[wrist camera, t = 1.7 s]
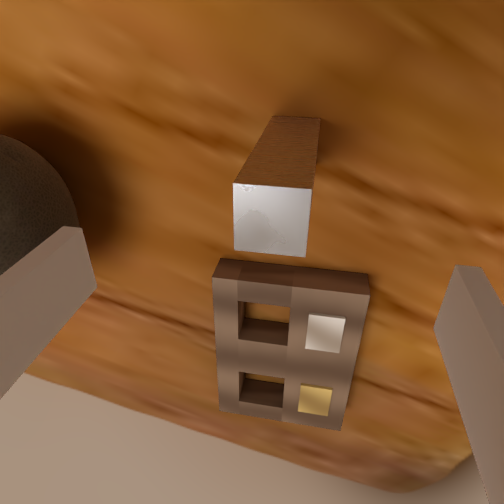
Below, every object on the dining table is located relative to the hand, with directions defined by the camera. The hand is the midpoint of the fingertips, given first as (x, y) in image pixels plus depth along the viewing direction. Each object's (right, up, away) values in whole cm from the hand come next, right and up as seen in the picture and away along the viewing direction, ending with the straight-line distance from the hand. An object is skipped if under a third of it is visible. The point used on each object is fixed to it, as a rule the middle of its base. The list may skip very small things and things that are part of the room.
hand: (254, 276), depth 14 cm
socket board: (+3, -8, +25) cm, 26 cm away
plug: (+3, +9, +14) cm, 17 cm away
